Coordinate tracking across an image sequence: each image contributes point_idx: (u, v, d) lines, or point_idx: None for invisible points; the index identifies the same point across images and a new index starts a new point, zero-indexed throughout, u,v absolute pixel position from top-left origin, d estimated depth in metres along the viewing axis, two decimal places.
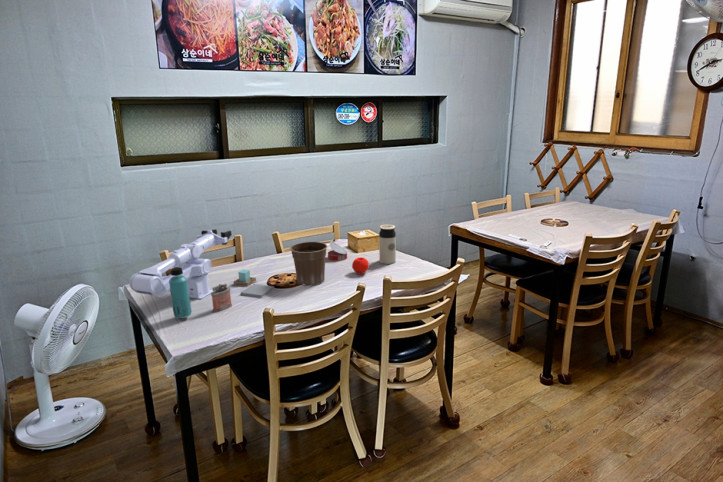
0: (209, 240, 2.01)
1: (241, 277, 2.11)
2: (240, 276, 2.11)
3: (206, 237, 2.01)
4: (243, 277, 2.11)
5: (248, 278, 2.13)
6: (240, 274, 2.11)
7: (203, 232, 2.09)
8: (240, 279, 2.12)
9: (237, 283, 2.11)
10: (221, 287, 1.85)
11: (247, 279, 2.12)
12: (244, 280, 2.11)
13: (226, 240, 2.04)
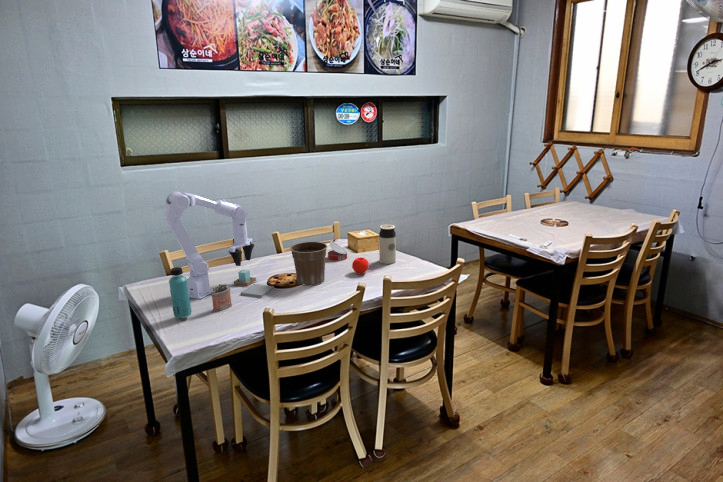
0: (239, 236, 2.04)
1: (241, 277, 2.11)
2: (240, 276, 2.11)
3: (243, 235, 2.05)
4: (243, 277, 2.11)
5: (248, 278, 2.13)
6: (240, 274, 2.11)
7: (252, 244, 2.13)
8: (240, 279, 2.12)
9: (237, 283, 2.11)
10: (221, 287, 1.85)
11: (247, 279, 2.12)
12: (244, 280, 2.11)
13: (231, 250, 2.02)
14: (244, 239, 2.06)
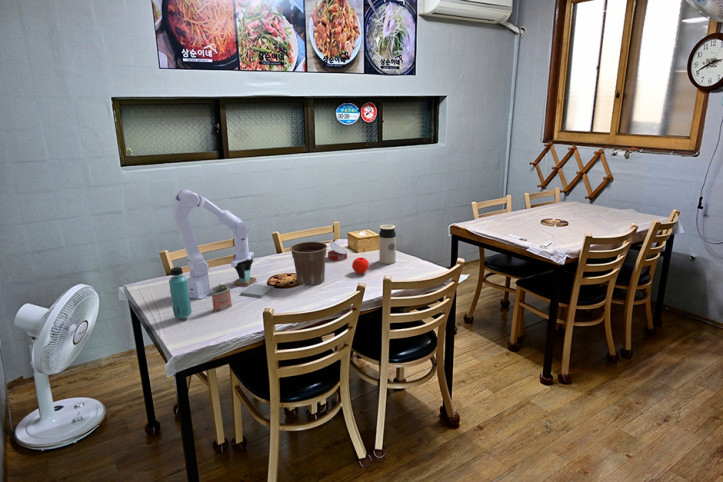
0: (240, 250, 2.06)
1: None
2: None
3: (245, 250, 2.07)
4: None
5: (248, 278, 2.13)
6: None
7: None
8: (240, 279, 2.12)
9: (237, 283, 2.11)
10: (221, 287, 1.85)
11: (247, 279, 2.12)
12: (244, 280, 2.11)
13: (232, 264, 2.04)
14: (245, 253, 2.08)
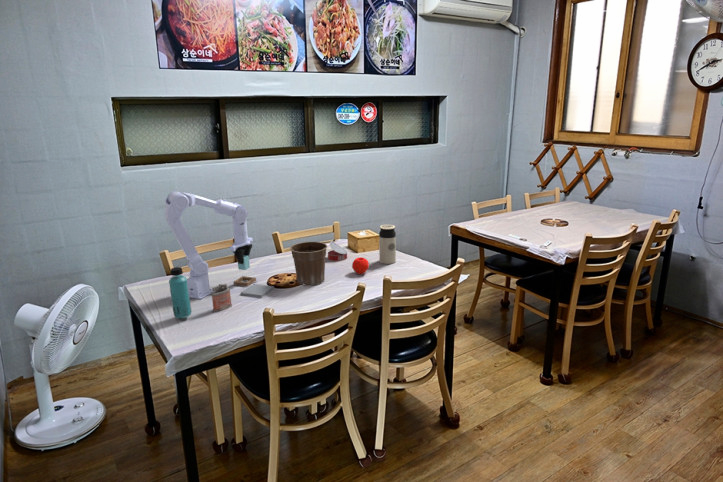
0: (239, 235, 2.04)
1: None
2: None
3: (244, 234, 2.05)
4: None
5: (247, 263, 2.10)
6: None
7: None
8: (239, 264, 2.09)
9: (237, 283, 2.11)
10: (221, 287, 1.85)
11: (246, 264, 2.10)
12: (243, 265, 2.09)
13: (231, 249, 2.02)
14: (244, 238, 2.05)
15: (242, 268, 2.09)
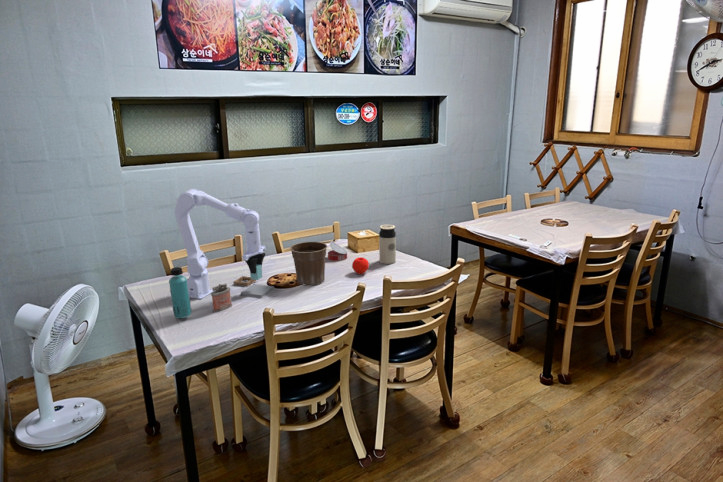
0: (252, 243, 1.95)
1: None
2: None
3: (257, 243, 1.95)
4: None
5: (260, 273, 2.01)
6: None
7: None
8: (251, 274, 2.00)
9: (237, 283, 2.11)
10: (221, 287, 1.85)
11: (259, 274, 2.00)
12: (256, 275, 1.99)
13: (244, 258, 1.92)
14: (257, 247, 1.96)
15: (255, 278, 2.00)
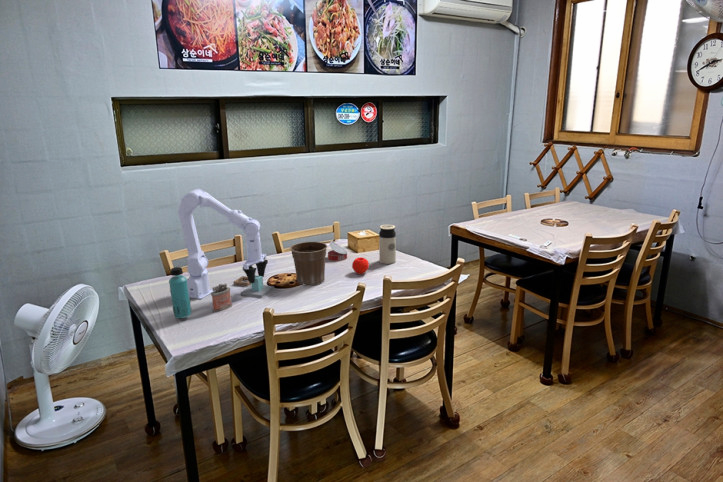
0: (253, 252, 1.96)
1: (254, 283, 2.01)
2: None
3: (257, 251, 1.96)
4: (256, 283, 2.01)
5: (261, 284, 2.03)
6: None
7: (265, 260, 2.04)
8: (253, 285, 2.02)
9: (237, 283, 2.11)
10: (221, 287, 1.85)
11: (260, 285, 2.02)
12: (257, 286, 2.01)
13: (244, 267, 1.93)
14: (258, 255, 1.97)
15: (256, 289, 2.02)
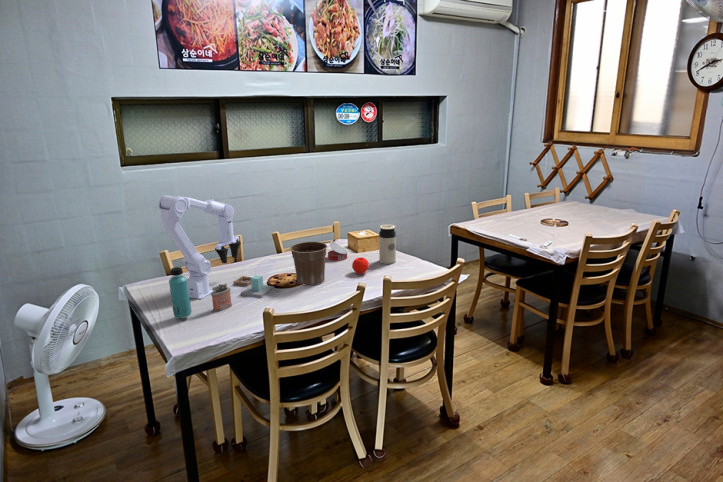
0: (225, 233, 2.07)
1: (254, 283, 2.01)
2: (253, 282, 2.01)
3: (229, 233, 2.07)
4: (256, 283, 2.01)
5: (261, 284, 2.03)
6: (253, 280, 2.01)
7: (238, 242, 2.15)
8: (253, 285, 2.02)
9: (237, 283, 2.11)
10: (221, 287, 1.85)
11: (260, 285, 2.02)
12: (257, 286, 2.01)
13: (217, 247, 2.04)
14: (230, 237, 2.08)
15: (256, 289, 2.02)
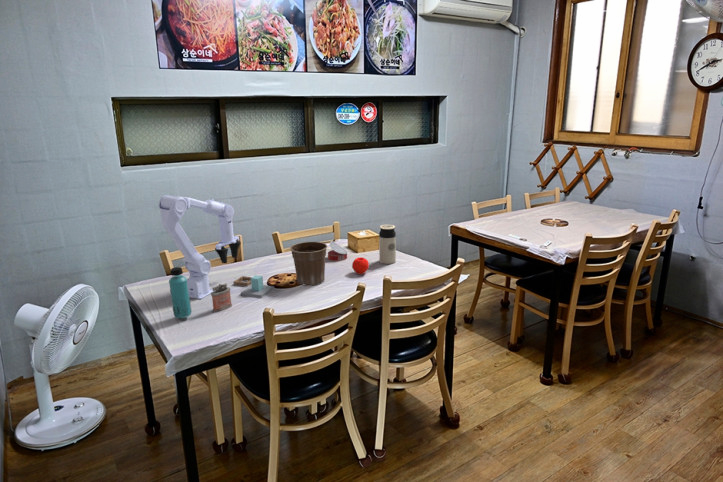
0: (225, 233, 2.07)
1: (254, 283, 2.01)
2: (253, 282, 2.01)
3: (229, 233, 2.07)
4: (256, 283, 2.01)
5: (261, 284, 2.03)
6: (253, 280, 2.01)
7: (238, 242, 2.15)
8: (253, 285, 2.02)
9: (237, 283, 2.11)
10: (221, 287, 1.85)
11: (260, 285, 2.02)
12: (257, 286, 2.01)
13: (217, 247, 2.04)
14: (230, 237, 2.08)
15: (256, 289, 2.02)
